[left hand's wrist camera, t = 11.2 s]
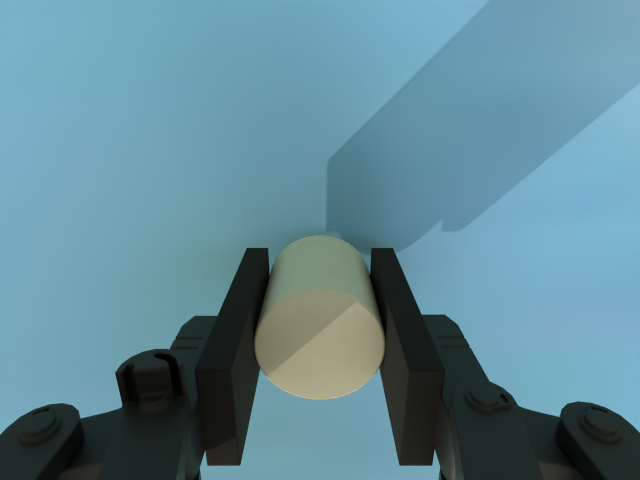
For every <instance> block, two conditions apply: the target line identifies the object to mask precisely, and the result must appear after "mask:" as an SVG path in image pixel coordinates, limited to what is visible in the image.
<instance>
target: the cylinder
mask: <svg viewBox="0 0 640 480" xmlns="http://www.w3.org/2000/svg"><path fill="white" fill-rule="evenodd" d="M385 346H386V338H385V333H384V329H383V325H382V321H381V317H380V313H379V309H378V305H377V301H376V298H375V294H374V290H373V286H372V282H371V278H370V274H369V270H368V267H367V264H366V262H365V260H364V258H363V257H362V255H361V254H360V253H359V252H358V251H357V250H356V249H355V248H354V247H353V246H352V245H350V244H349V243H347V242H346V241H344V240H341V239H339V238H336V237H332V236H326V235H313V236H308V237H304V238H301V239H298V240H296V241H294V242H292V243H291V244H289V245H288V246H287V247H285V248H284V249H283V250H282V251H281V252H280V254H279V255H278V256H277V258H276V259H275V261H274V264H273V266H272V269H271V273H270V277H269V281H268V285H267V289H266V293H265V296H264V300H263V304H262V308H261V312H260V316H259V320H258V324H257V328H256V332H255V336H254V350H255V356H256V359H257V361H258V364H259V366H260V368H261V370H262V371H263V373H264V374H265V375H266V377H267V378H268V379H269V380H270V381H271V382H272V383H274V384H275V385H276V386H277V387H279V388H281V389H282V390H284V391H286V392H288V393H290V394H293V395H296V396H298V397H303V398H308V399H332V398H337V397H341V396H344V395H347V394H349V393H352V392H354V391H356V390H357V389H359V388H361V387H362V386H363V385H365V384H366V383H367V382H368V381H369V380H370V379H371V378H372V377H373V376H374V375H375V374H376V372H377V371H378V369H379V367H380V365H381V363H382V361H383V358H384V354H385Z"/></svg>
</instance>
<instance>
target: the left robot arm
mask: <svg viewBox="0 0 640 480" xmlns="http://www.w3.org/2000/svg"><path fill="white" fill-rule="evenodd" d="M269 277H270V275H269V256H268V248H247V249H246V252H245V254H244V256H243V258H242V261H241V263H240V265H239V268H238V270H237V272H236V275H235V277H234V279H233V282H232V284H231V286H230V289H229V291H228V293H227V296H226V298H225V300H224V302H223V305H222V307H221V309H220V312H219V314H218V316H194V317H193V318H192V319H190V320H189V321H188V322H187V323H185V324H184V325H183V326H182V327H181V329H180V331H179V333H178V335H177V336H176V340H174V342H173V343H172V345H171V347H170V350H169V349H154V350H149V351H144V352H142V353H139V354H137V355H135V356H132V357H131V358H129V359H128V360H127V361H125V362H124V363H122V364H121V365H120V367H119V368H118V370H117V371H116V372H115V374H116V378H117V383H118V387H119V391H120V396H121V400H122V404H123V405H122V408H119V409H117V410H114V411H110V412H107V413H103V414H98V415H94V416H90V417H86V418H82V419H81V418H80V415H79V411H78V410H77V409H76V408H75V407H74V406H73V405H68V404H64V403H60V404H50V405H46V406H43V407H40V408H37V409H34V410H32V411H30V412H29V413H27V414H25V415H23V416H21V417H20V418H18V419H17V420H16V421H15V422H14V423H12V424H11V425H10V426H9V427H8V428H7V429H6V430H5V431H4V432H3V433H2V434H1V435H0V480H201V473H200V465H201V462H202V459H203V455H204V452H205V451H206V458H207V465H208V466H240V464H241V459H242V454H243V449H244V445H245V440H246V435H247V430H248V425H249V420H250V415H251V411H252V406H253V401H254V396H255V391H256V386H257V381H258V377H259V372H260V366H259V364H258V361H257V359H256V356H255V350H254V336H255V332H256V328H257V324H258V320H259V316H260V312H261V308H262V304H263V300H264V296H265V293H266V289H267V285H268V281H269ZM370 278H371V282H372V286H373V290H374V294H375V298H376V301H377V305H378V309H379V313H380V317H381V321H382V325H383V329H384V333H385V338H386V346H385V354H384V358H383V361H382V363H381V365H380V367H379V368H380V373H381V378H382V383H383V388H384V393H385V397H386V402H387V407H388V412H389V417H390V422H391V427H392V431H393V436H394V441H395V446H396V451H397V456H398V461H399V465H400V466H432V463H433V456H434V449H435V451H436V454H437V458H438V461H439V464H440V473H439V480H640V433H639V432H638V431H637V430H636V429H635V428H634V427H633V425H631V424H630V423H629V422H628V421H626V420H625V419H624V418H623V417H622V416H620V415H619V414H617V413H615V412H613V411H611V410H609V409H607V408H605V407H602V406H599V405H596V404H593V403H587V402H574V403H569V404H567V405H566V406H565V407H564V408H563V409H562V410H561V414H560V417H557V416H553V415H548V414H544V413H540V412H536V411H532V410H528V409H525V408H522V407H520V406H518V405H517V403H516V401H515V400H514V398H513V397H512V395H511V394H509V393H508V392H507V391H506V390H505V389H503V388H502V387H500V386H498V385H496V384H494V383H492V382H490V381H489V380H488V378H487V376H486V374H485V373H484V371H483V369H482V367H481V365H480V364H479V362H478V360H477V358H476V357H475V355H474V353H473V351H472V349H471V348H470V347H469V344H468V342H467V341H466V339H465V338H464V335H463V333H462V332H461V330H460V328H459V326H458V325H457V324H456V323H455V322H454V321H452V320H451V319H450V318H448V317H447V316H446V315H421V312H420V310H419V308H418V305H417V303H416V301H415V299H414V296H413V294H412V292H411V289H410V287H409V285H408V282H407V280H406V278H405V275H404V273H403V271H402V268H401V266H400V264H399V261H398V259H397V257H396V255H395V252H394V250H393V248H372V250H371V270H370Z"/></svg>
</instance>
